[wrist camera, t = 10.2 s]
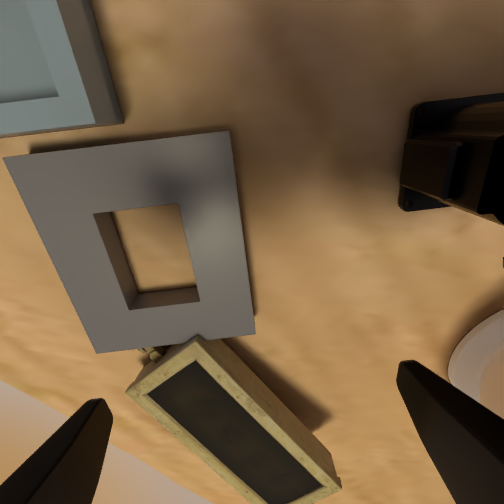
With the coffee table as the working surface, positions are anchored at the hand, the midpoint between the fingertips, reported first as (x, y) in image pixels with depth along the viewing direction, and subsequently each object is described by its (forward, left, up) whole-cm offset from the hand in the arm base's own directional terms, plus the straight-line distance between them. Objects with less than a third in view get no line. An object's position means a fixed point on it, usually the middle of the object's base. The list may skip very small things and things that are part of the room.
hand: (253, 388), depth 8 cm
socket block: (+6, 0, -12) cm, 13 cm away
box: (+3, +15, -12) cm, 20 cm away
